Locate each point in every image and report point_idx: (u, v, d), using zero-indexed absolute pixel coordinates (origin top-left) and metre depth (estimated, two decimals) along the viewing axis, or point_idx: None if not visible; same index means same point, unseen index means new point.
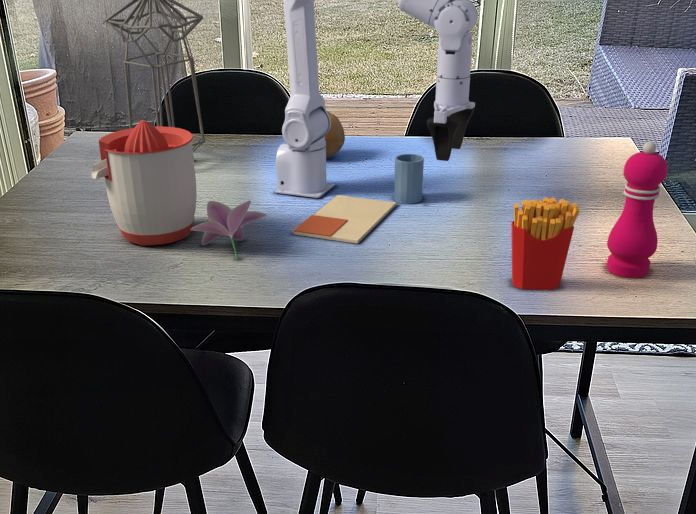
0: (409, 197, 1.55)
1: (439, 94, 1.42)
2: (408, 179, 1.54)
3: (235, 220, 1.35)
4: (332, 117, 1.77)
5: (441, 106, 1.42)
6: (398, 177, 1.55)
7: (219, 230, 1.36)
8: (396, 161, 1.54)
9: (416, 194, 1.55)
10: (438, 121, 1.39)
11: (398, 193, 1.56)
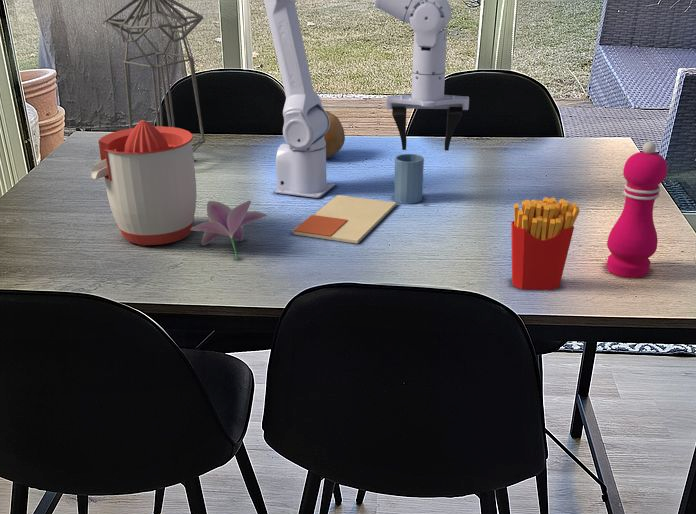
0: (409, 197, 1.55)
1: None
2: (408, 179, 1.54)
3: (235, 220, 1.35)
4: (332, 117, 1.77)
5: None
6: (398, 177, 1.55)
7: (219, 230, 1.36)
8: (396, 161, 1.54)
9: (416, 194, 1.55)
10: None
11: (398, 193, 1.56)
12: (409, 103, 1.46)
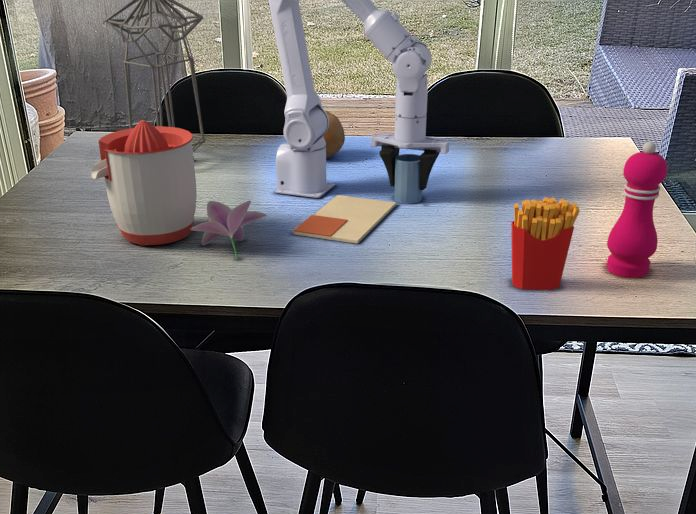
0: (409, 197, 1.55)
1: None
2: (408, 179, 1.54)
3: (235, 220, 1.35)
4: (332, 117, 1.77)
5: None
6: (398, 177, 1.55)
7: (219, 230, 1.36)
8: (396, 161, 1.54)
9: (416, 194, 1.55)
10: None
11: (398, 193, 1.56)
12: (390, 143, 1.52)
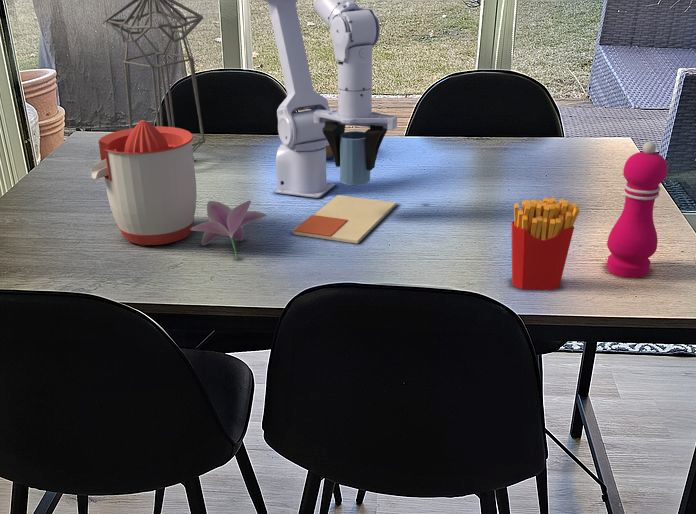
0: (356, 178, 1.44)
1: None
2: (354, 158, 1.42)
3: (235, 220, 1.35)
4: None
5: None
6: (343, 156, 1.43)
7: (219, 230, 1.36)
8: (341, 139, 1.42)
9: (362, 174, 1.44)
10: None
11: (344, 173, 1.45)
12: (333, 119, 1.41)
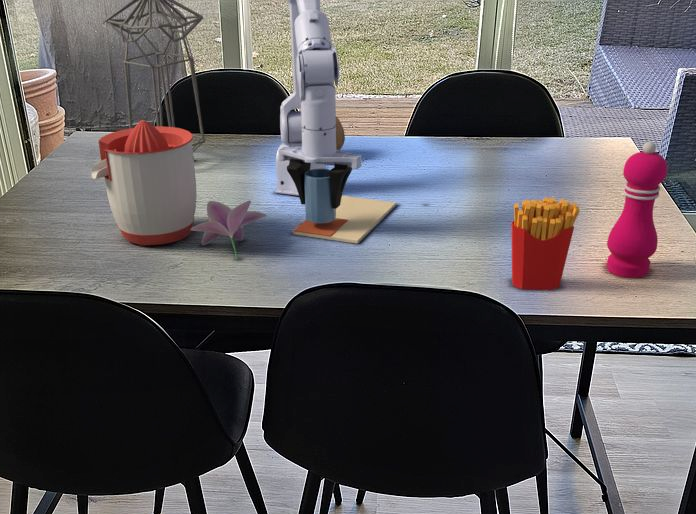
0: (321, 216, 1.42)
1: None
2: (318, 197, 1.40)
3: (235, 220, 1.35)
4: None
5: None
6: (308, 194, 1.41)
7: (219, 230, 1.36)
8: (305, 177, 1.40)
9: (327, 212, 1.42)
10: None
11: (309, 212, 1.43)
12: (297, 157, 1.39)
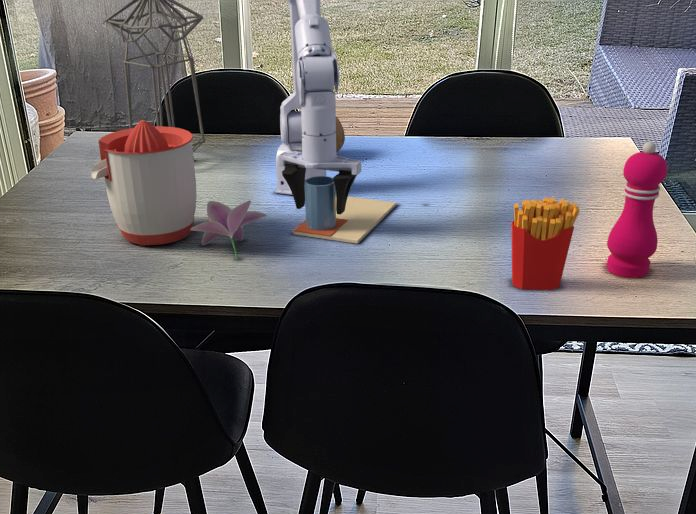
0: (321, 224, 1.43)
1: None
2: (318, 204, 1.41)
3: (235, 220, 1.35)
4: None
5: None
6: (308, 202, 1.42)
7: (219, 230, 1.36)
8: (305, 184, 1.41)
9: (328, 219, 1.43)
10: None
11: (309, 219, 1.43)
12: (297, 162, 1.39)
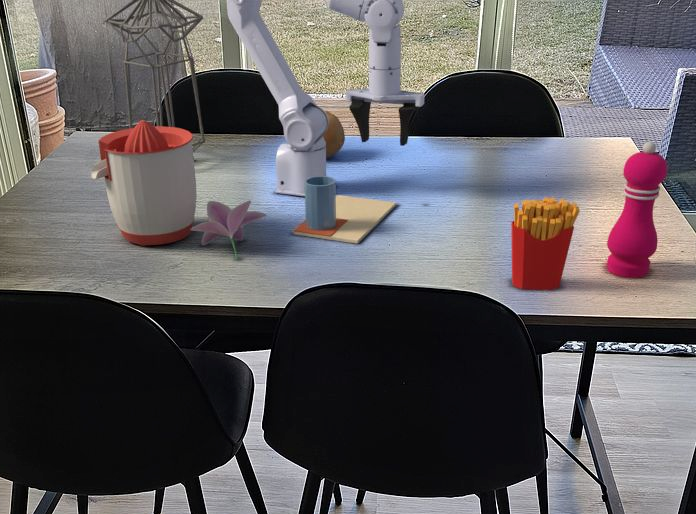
0: (321, 224, 1.43)
1: None
2: (318, 204, 1.41)
3: (235, 220, 1.35)
4: (332, 117, 1.77)
5: None
6: (308, 202, 1.42)
7: (219, 230, 1.36)
8: (305, 184, 1.41)
9: (328, 219, 1.43)
10: None
11: (309, 219, 1.43)
12: (364, 96, 1.50)
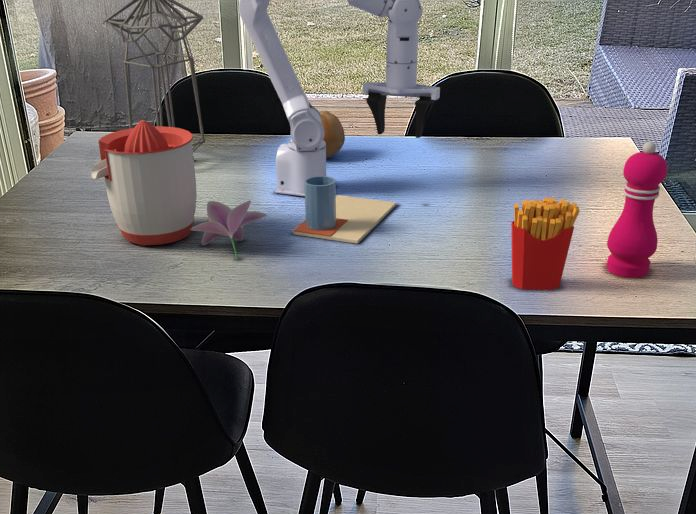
0: (321, 224, 1.43)
1: None
2: (318, 204, 1.41)
3: (235, 220, 1.35)
4: (332, 117, 1.77)
5: None
6: (308, 202, 1.42)
7: (219, 230, 1.36)
8: (305, 184, 1.41)
9: (328, 219, 1.43)
10: None
11: (309, 219, 1.43)
12: (381, 90, 1.54)
